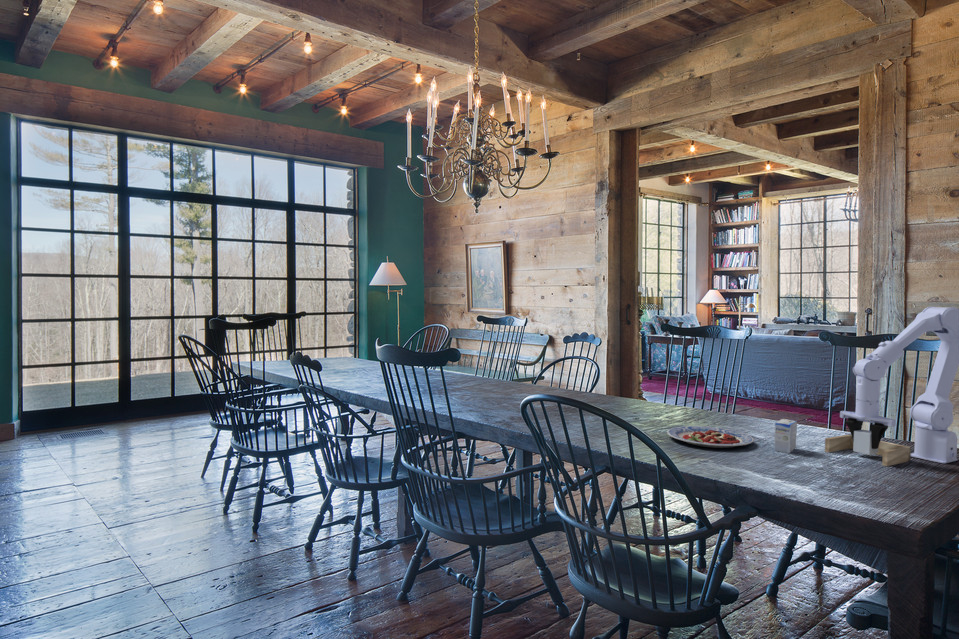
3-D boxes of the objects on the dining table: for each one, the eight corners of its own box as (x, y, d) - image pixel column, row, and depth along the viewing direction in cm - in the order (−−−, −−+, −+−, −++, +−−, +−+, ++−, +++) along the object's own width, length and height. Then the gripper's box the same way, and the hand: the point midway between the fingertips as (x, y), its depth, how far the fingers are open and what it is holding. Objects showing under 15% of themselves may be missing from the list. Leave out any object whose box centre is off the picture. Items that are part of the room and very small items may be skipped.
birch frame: (910, 460, 173) (910, 447, 173) (886, 466, 167) (887, 451, 167) (848, 447, 189) (848, 434, 188) (824, 451, 183) (825, 438, 182)
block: (877, 453, 177) (878, 432, 177) (869, 454, 175) (870, 434, 174) (861, 449, 181) (862, 429, 180) (853, 451, 179) (854, 430, 178)
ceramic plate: (718, 431, 210) (718, 422, 210) (772, 449, 185) (772, 440, 185) (651, 434, 203) (652, 425, 203) (698, 454, 178) (698, 444, 178)
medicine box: (780, 446, 189) (781, 418, 188) (796, 448, 186) (797, 420, 186) (773, 451, 183) (774, 422, 182) (790, 453, 180) (791, 424, 179)
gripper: (834, 397, 181) (832, 442, 182) (886, 405, 169) (884, 453, 169) (848, 395, 185) (846, 440, 185) (900, 403, 172) (898, 451, 173)
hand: (865, 446), depth 178 cm, fingers closed on block, 4 cm apart
